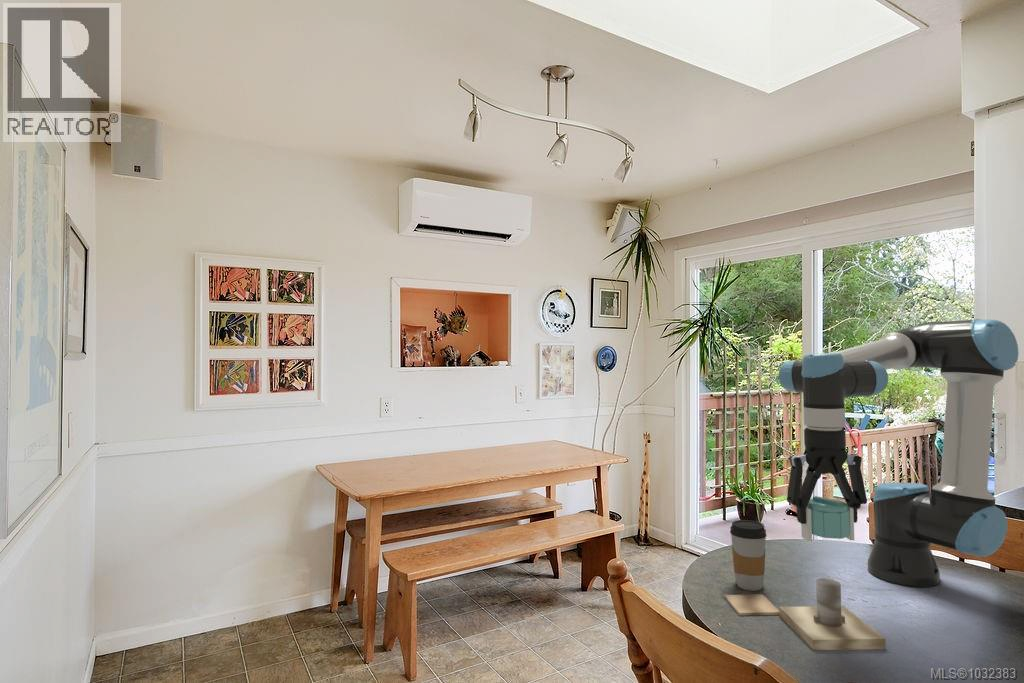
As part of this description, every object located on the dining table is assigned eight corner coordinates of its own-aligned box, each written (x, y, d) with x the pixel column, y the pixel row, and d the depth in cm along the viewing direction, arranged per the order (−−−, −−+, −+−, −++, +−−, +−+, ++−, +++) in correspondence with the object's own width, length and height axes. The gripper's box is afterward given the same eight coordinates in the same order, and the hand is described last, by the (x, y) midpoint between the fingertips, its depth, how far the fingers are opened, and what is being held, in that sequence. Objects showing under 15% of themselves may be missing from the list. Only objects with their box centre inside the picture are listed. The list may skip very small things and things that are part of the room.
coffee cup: (771, 593, 134) (770, 530, 135) (734, 591, 136) (733, 528, 136) (763, 579, 143) (762, 520, 143) (728, 577, 144) (727, 518, 145)
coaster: (762, 597, 133) (762, 594, 133) (780, 614, 124) (780, 612, 124) (724, 597, 133) (724, 595, 133) (739, 615, 124) (739, 612, 124)
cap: (856, 533, 115) (855, 500, 115) (834, 540, 112) (833, 506, 112) (820, 524, 122) (819, 492, 122) (799, 530, 118) (798, 498, 118)
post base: (844, 615, 123) (842, 569, 123) (885, 649, 109) (884, 597, 109) (779, 616, 123) (778, 569, 124) (813, 650, 109) (811, 598, 110)
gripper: (863, 424, 121) (867, 531, 120) (765, 426, 121) (769, 533, 120) (886, 429, 113) (890, 543, 113) (782, 431, 113) (785, 546, 113)
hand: (827, 538), depth 117 cm, fingers closed on cap, 8 cm apart
